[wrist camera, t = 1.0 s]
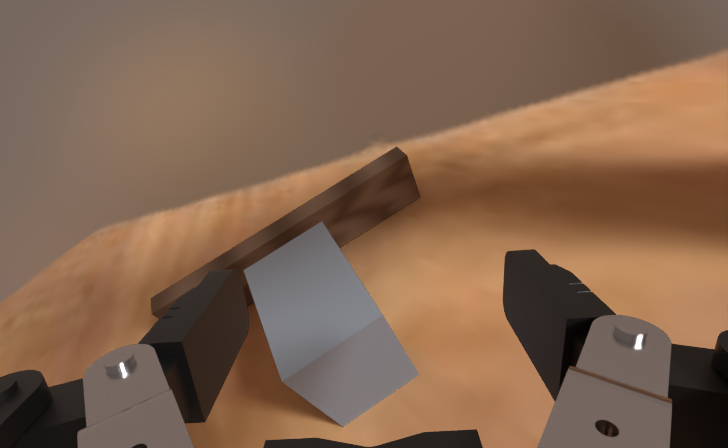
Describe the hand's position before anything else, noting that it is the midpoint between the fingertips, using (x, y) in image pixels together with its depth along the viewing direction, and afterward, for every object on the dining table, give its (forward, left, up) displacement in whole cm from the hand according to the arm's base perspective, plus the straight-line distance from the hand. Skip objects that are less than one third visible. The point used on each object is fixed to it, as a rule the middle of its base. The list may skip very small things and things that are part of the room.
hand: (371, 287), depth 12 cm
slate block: (+2, -11, -21) cm, 23 cm away
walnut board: (0, -23, -21) cm, 31 cm away
